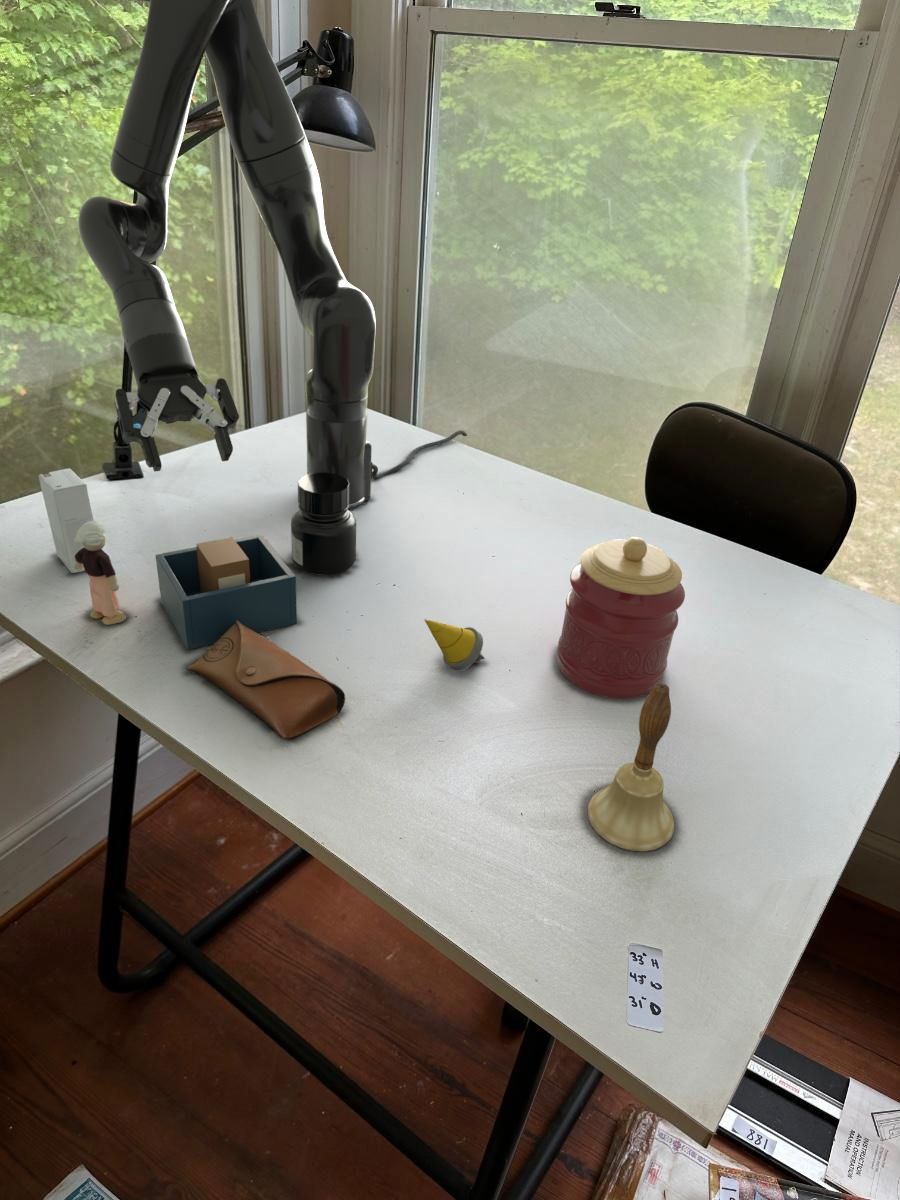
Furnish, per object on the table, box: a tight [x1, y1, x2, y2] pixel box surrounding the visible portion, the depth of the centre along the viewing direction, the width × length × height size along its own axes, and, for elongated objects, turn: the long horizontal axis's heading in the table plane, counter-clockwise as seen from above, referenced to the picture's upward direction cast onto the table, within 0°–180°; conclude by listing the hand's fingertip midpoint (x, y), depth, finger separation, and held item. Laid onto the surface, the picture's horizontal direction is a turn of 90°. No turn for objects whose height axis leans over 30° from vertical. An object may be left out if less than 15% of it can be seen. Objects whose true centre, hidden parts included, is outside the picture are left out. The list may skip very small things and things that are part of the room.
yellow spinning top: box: [424, 618, 486, 672], centre depth 99 cm, size 5×5×10 cm
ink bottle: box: [290, 472, 358, 576], centre depth 116 cm, size 10×9×12 cm
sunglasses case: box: [187, 620, 346, 740], centre depth 93 cm, size 18×7×7 cm
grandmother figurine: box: [74, 520, 127, 626], centre depth 101 cm, size 8×4×13 cm, turn 65°
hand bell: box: [587, 682, 675, 852], centre depth 77 cm, size 8×8×16 cm
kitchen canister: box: [556, 536, 686, 700], centre depth 98 cm, size 13×13×18 cm
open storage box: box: [155, 534, 298, 651], centre depth 105 cm, size 14×12×7 cm
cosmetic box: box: [38, 467, 94, 574], centre depth 111 cm, size 6×4×12 cm
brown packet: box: [195, 536, 250, 593], centre depth 104 cm, size 4×6×8 cm
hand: (193, 463), depth 106 cm, fingers open, 8 cm apart
